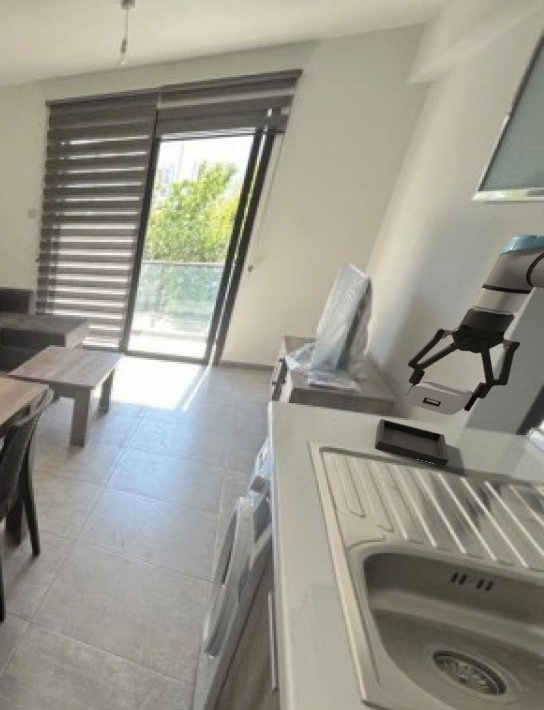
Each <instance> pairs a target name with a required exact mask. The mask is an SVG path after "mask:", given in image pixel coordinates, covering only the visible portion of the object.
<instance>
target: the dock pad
mask: <svg viewBox="0 0 544 710" xmlns="http://www.w3.org/2000/svg"><path fill="white" fill-rule="evenodd" d="M375 433H376V435H375V443H374V449H377V450H380V451H384V452H387V453H390V454H394V455H398V456H401V455H402V456H401V457H405V456H407V457H406V458H408V457H411V458H410V459H412V458H414V459H413V460H415V459H419V460H423V461H427V462H431V463H434V464H437V465H441V466H444V467H443V468H445V467H446V466H447V464H448V462H449V461H450V459H449V454H448V449H447V448H448V447H447V442H446V437H445V434H442V433H439V432H436V431H431V430H427V429H423V428H419V427H415V426H411V425H407V424H403V423H400V422H395V421H392V420H387V419H384V418H380V419H379V422H377V426H376V432H375ZM419 460H418V461H419ZM437 465H436V466H437Z"/></svg>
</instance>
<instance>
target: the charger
mask: <svg viewBox="0 0 544 710" xmlns="http://www.w3.org/2000/svg"><path fill="white" fill-rule="evenodd" d="M410 388H411V387H410ZM409 390H410V389H409ZM409 390H408V391H409ZM473 392H474V391H472V390H470V389H468V388H464V387H459V386H456V385H453V384H452V385H451V384H448V383H444V382H440V381H436V380H433V379H431V380H430V379H429V380H428V379H427V380H424V381H422V382H420V383H419V384H417V385H415V386H413V387H412V388H411V390H410V391H409V393H408V392H407V393H408V395H407V394H406V396H405V399H404V402H406V403H407V404H409V405H410V406H414V407H418V408H421V409H425V410H429V411H432V412H435V413H439V414H442V415H446V416H453V415H456V414H457V413H459V412H460V411H461V410H464V408H465V407H466V406H467V404H468V403H469V401H470V400H471V398H472V396H473V395H474V393H473Z"/></svg>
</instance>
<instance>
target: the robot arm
mask: <svg viewBox="0 0 544 710" xmlns="http://www.w3.org/2000/svg"><path fill="white" fill-rule="evenodd" d="M535 288H541V289H544V234H543V235H541V234H530V233H529V234H528V233H519V234H515V235H514V236H512V237H511V238H510V239H509V241H508V242H507V244H506V245H505V247H504V248H503V249H502V251H501V252H500V253H499V254H498V257H497V259H496V261H495V263H494V265H493V267H492V269H491V271H490V272H489V274H488V276H487V278H486V280H485V282H484V283H483V284H482V286H481V288H480V289H479V291H478V293H477V294H476V296H475V297H474V299H473V301H472V303H471V306H472V307H471V308H469V309H467V311H466V313H465V314H464V316H463V318H462V319H461V322H460V323H459V325H458V326H457V327H456V328H454V329H446V328H443V327H439V328H437V329H436V331H435V333H434V335H433V336H432V338H431V339H430V340H428V342H427V343H425V344H424V345H423V347H422V348H421V349H420V350H418V352H416V353H415V354H414V355H413V356H412V357H410V359H409V360H408V361H407V366H408V367H409V368H411V369H413V371H412V373H411V375H410V377H409V379H408V384H411V386H410V388H409V389H408V391H407V393H406V396H407V395H408V393H409V391H410V390H411V388H412V387H413V386H415V385H417V384H420V383H421V381H422V379H423V377H424V376H425V374H426V371H425V369H427V368H429V367H430V366H432V365H433V364H435V363H436V362H439V361H440V360H442V359H444V358H445V357H446V356H448V355H450V354H451V353H454V352H456V351H457V350H459V351H460V352H470V353H472V354H480V357H481V362H482V363H481V364H482V368H483V375H484V379H485V382H481V381H479V383H478V384H477V386H476V388H475V389H474V391H472V392H473V393H474V395H473V396H472V398H471V400H470V401H469V403H468V404H467V406H466V407H465V408H463V410H464V412H470V411H471V410H472V408H473V406H474V405H475V403H476V402H477V400H478V399H482V400H483V399H485V398H486V397H487V396H488V394H489V392H490V391H491V390H492V388H493V387H495V386H502V387H505V386H506V385H508V384H509V383H508V382H509V378H510V374H511V369H512V365H513V359H514V356H515V352H516V351H517V350H518V348H519V347H520V346H521V342H520V341H519V340H518V339H508V338H505V334H506V332H507V331H508V329H509V327H510V326H511V324H512V323H513V321H514V320H515V318H516V316H515V314H516V313H519V312H520V310H521V309H522V307H523V305H524V304H525V302H526V301H527V299H528V297H529V295H530V294H531V293H532V291H533V290H534V289H535ZM448 336H451V337H452V341H453V342H451V343H449V344H448V345H446V346H445V347H444V348H442V349H440V350H439V351H438V352H436V353H434V354H432V355H431V356H430V357H428V358H426V359H425V360H422V359H423V358H424V357H425V356H426V355H427V354H428V353H429V352H430V351H431V350H432V349H433V348H434V347H436V345H438V343H440V341H441V340H444V339H446V338H447V337H448ZM501 344H502V349H503V350H504V351H503V356H502V360H501V365H500V369H499V375H498V378H495V376H494V369H493V364H492V358H491V351H490V350H492V348H495V347H498V346H499V345H501ZM421 360H422V362H420V361H421ZM419 362H420V363H419Z"/></svg>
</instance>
